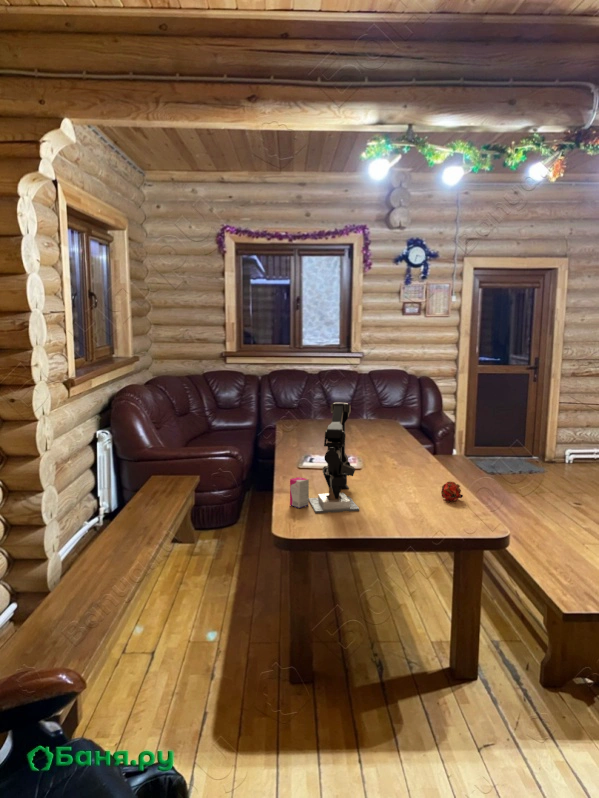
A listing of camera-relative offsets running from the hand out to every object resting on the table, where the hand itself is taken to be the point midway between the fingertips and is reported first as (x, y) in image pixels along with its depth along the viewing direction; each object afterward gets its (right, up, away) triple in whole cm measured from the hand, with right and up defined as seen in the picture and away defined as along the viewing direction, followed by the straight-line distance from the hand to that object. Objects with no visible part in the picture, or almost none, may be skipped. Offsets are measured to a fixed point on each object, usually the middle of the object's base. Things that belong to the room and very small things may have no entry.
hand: (334, 495), depth 231 cm
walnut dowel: (0, -4, +1) cm, 4 cm away
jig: (0, -5, +2) cm, 5 cm away
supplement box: (-14, -5, +2) cm, 15 cm away
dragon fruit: (+51, -4, +9) cm, 52 cm away
